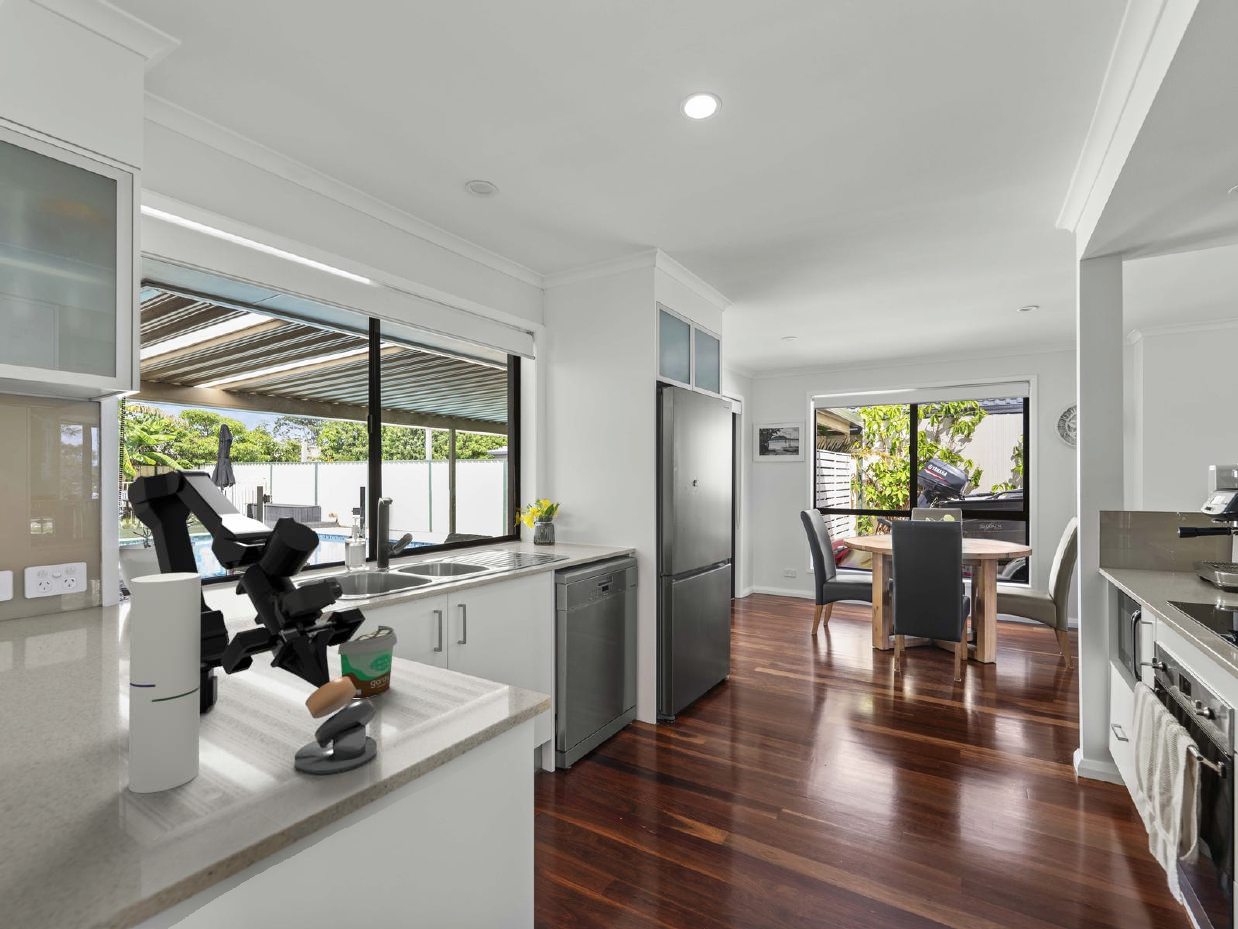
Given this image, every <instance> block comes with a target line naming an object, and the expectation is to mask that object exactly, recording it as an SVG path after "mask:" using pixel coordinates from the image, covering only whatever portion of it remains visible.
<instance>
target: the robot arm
mask: <svg viewBox="0 0 1238 929" xmlns="http://www.w3.org/2000/svg"><path fill="white" fill-rule="evenodd" d="M127 499H128V502H129V503H130V504H131V507H132V510H133V513H134V516H135V518H136V519H137V520H139V522H141V523H142V525H144V526H145V527H146V528H148V530H150V531H151V535H152V539H153V543H154V545H153V546H154V549H155V552H156V553H155V554H156V559H157V562H158V566H159V573H160V574H167V573H198V574H199V570H198V567H197V563H196V562H197V561H196V557H195V551H194V549H193V543H192V540H191V536H190V530H189V528H188V522H187V521H188V519H189V516H190V515H191V513H192V514H193V516H195V517H196V519H197V520H198V521H199V523H200V524H201V525H202V526H203V527H204V529H206V530H207V531H208V533H209V534H210V535H211V537H212V542H211V546H210V547H211V548H210V549H211V551H212V553H213V555H214V556H215V559H216V560H217V562H218V563H219V564H220V566H221V567H222V568H223V569H225V570H237V569H245V568H246V570H245V571H244V573H243V574H242V575H240V576H239V579H238V580H239V581H238V583H237V585H236V586H235V595H237V596H241V595H246V594H247V596H248V598H249V600H250V602H251V604H252V605H253V608H254V610H255V611H256V613H257V614H256V616H255V617H254V619H253V621H254V622H255V625H256V626H260V625H263V626H261V627H257V628H251V629H247V630H243V631H238V632H236V634H235V635H234V637H233V638H232V640H231V641H230V637H229V631H228V629H227V626H226V624H225V616H224V613H223V612H222V611H221V609H215V610H213V609H212V608H211V607H210V606H209V605H207V603H206V600H205V596H204V592H203V587H202V585H201V621H200V715H205V714H207V713H208V712H209V711H210V710H211V708H212V707H214V705H215V704H216V702H217V701H218V681H219V680H218V676H217V675H215V674H214V673H215V668H223V670H224V672H225V674H226V675H229V676H230V675H233V674H237V673H241V672H245V671H247V670H249V669H250V668H251V666H252V663H253V662H254V659H253V657H252V656H254V655H258V654H263V653H267V652H270V651H271V653H272V657H273V659H272V661H271V662H270V667H271V668H279V669H281V670H284V671H286V672H287V673H290V674H292V675H295V676H296V677H298V678H301V679H302V680H304V681H305V682H307V683H309V684H310V685H312V686H314V687H316V688H317V689H319V688H320V687H322V686H323V685H325V684H327V683H328V682H330V681H331V677H330V670H329V661H328V648H329V647H330V648H332V647H334V646H339V645H340V644H342V643H345V642H347V641H351V639H352V637H354V635H355V633H356V632H357V631H358V629H359V628H360V627H361V626H362V624H364V622H365V620H366V618H365V615H364V614H363V612H362V611H361V609H360V608H359V607H357V606H356V607H355V606H353V607H348V608H343V609H338V610H334V611H333V612H332V613H331V615H330V616H329V617H328V618H327V620H326V621H325V622H321V623H318V624H317V622H316V621H317V620H319V619H320V618H322V616H323V614H324V612H323V609H325V608H327V607H329V606H330V605H331V606H333V605H335V604H337V601H336V600H338V599H340V598H341V597H343V593H344V592H343V591H344V590H343V588H342V585H341V583H340V582H339V581H338V579H337V578H336V577H335V576H331V577H327V578H326V577H325V578H323V580H319V581H318V582H317V583H316V582H315V583H311V584H306V585H303V586H300V587H298V588H296V586H295V584H294V582H293V581H292V578H291V577H295V576H297V575H298V574H300V572H301V571H302V569H303V568H304V567H305V565H306V564H307V562H308V560H309V559H310V558H311V556H312V555H313V553H314V552H315V550H316V549H317V548H318V546H319V544H320V537H319V534H318V533H317V532H316V531H315V530H313V529H312V528H311V527H309V526H307V525H306V524H303V523H300V522H297V521H296V520H295V519H294V517H293V516H287V517H279V518H278V519H277V521H276V523H275V525H274V528H273V529H271V528H270V527H268V526H267V525H265V524H264V523H262V522H261V521H259V520H257V519H253V518H250V517H248V516H245V515H244V514H242V513H241V511H239V509H238V508H236V506H235V505H234V504H233V503H232V502H231V500H229V498H228V497H227V496H226V495H225V493H223V492H222V491H221V489H219V487H218V486H217V485H216V484H215V483H214V482H213V481H212V477H211V475H210V473H209V472H208V471H207V470H203V469H198V468H197V469H194V468H193V469H192V468H191V469H188V468H187V469H184V468H183V469H179V468H177V469H175V470H171V471H168V472H166V473H161V474H156V475H140V476H137V478H136V479H135V481H133V482H131V483H130V484H129V485H128V488H127Z"/></svg>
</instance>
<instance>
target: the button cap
mask: <svg viewBox="0 0 1238 929" xmlns="http://www.w3.org/2000/svg"><path fill="white" fill-rule="evenodd" d="M356 692H357V691H356V689H355V687H354V685H353V683H352V682H351V680H350V678H349V677H342V676H341V677H338V678H335V679H333V680H330V682H328V683H327V684H325V685H323V686H322V687H320V688H317V689H316V690H315V691H314V692H312V693H311V694H310V695H309V697H307V699H306V700H305V706H306V708H307V710H308V712H309V713H310V715H311V717H312V718H313V719H315V720H316V719H321V718H323V717H327V716H329V715H331V714H332V713H333V714H334V712H336V711H338V710H339V709H340V710H341V708H342V707H343V708H344V706H346V705H347V704H348V703H349V702H350V701H352V700H353V699H352V698H353V697H354V696H355V694H356ZM351 699H352V700H351Z"/></svg>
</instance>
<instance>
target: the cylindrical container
mask: <svg viewBox="0 0 1238 929" xmlns="http://www.w3.org/2000/svg"><path fill="white" fill-rule="evenodd" d="M201 586H202V574H201V573H199V572H198V573H167V574H161V573H158V574H150V575H143V576H142V575H141V576H137V577H135V578H134V577H133V578H131V579H130V619H129V620H130V623H129V625H130V626H129V627H130V629H129V632H130V633H129V634H130V636H129V691H128V693H129V695H128V696H129V697H128V698H129V699H128V700H129V703H128V706H129V709H128V712H129V713H128V721H129V724H128V725H129V726H128V776H127V777H128V779H127V780H128V781H127V782H128V783H127V784H128V785H127V786H128V787H127V788H128V790H129V791H130V790H131V792H132V793H136V794H151V793H157V792H164V791H168V790H170V789H175V788H177V787H180V786H182V785H184V784H186V783H188V782H191V781H192V780H193V779H195V778H196V777H197V776H198V775H199V772H200V715H201V714H200V621H201Z"/></svg>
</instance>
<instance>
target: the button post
mask: <svg viewBox="0 0 1238 929" xmlns="http://www.w3.org/2000/svg"><path fill="white" fill-rule="evenodd" d="M376 714H377V710H376V708H375V706H374V705H373V703H372V702H371V700H370V699H360V700H359V701H356V702H353V703H351V704H349V705H347V706H345V707H343V708H342V709H340V710H339V711H337V712H336V713H333V715H331V716H330V717H329V718H327V719H326V720H325V721H324V722H323V723H321V725H319V727H318V728H317V729H316V731H315V733H314V737H315V739H316V740H314V741H312V742H309V743H307V744H306V745H304V746H302V747H301V748H300V749H299V750H297V751H296V753H295V755H294V767H295V769H296V770H297V772H300V773H302V774H306V775H309V776H310V775H312V776H328V775H335V774H336V775H337V774H340V773H345V772H350V771H353V770H355V769H358V768H360V767H362V766H364V765H367V764H368V763H369V762H370V761H372V760H373V759H374V758H375V756H376V755H377V749H378V748H377V741H376V739H374V738H373V737H371V736H368V735H367V727H366V726H367V725H368V724H369V723H370V722H371V721H372V720H373V719H374V718H375V716H376Z"/></svg>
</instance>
